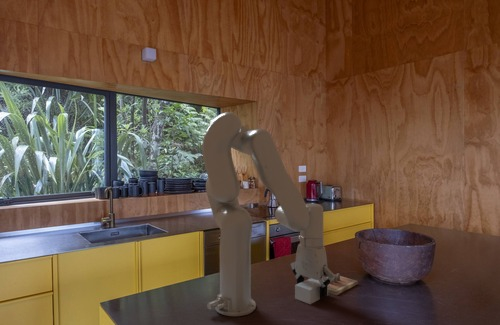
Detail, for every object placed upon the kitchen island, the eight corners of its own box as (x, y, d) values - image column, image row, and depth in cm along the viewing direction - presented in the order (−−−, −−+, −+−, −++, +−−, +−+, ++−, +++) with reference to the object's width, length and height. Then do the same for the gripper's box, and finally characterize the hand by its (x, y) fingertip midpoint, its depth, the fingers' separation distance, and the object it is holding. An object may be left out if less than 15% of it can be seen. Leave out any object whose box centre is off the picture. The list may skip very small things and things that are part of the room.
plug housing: (310, 304, 109) (310, 290, 109) (294, 298, 113) (295, 285, 113) (327, 295, 116) (327, 281, 116) (313, 290, 120) (313, 277, 120)
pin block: (336, 295, 116) (336, 284, 116) (311, 287, 123) (311, 276, 123) (357, 284, 126) (357, 274, 126) (333, 277, 133) (333, 267, 133)
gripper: (284, 238, 118) (284, 289, 118) (327, 248, 105) (327, 305, 106) (297, 235, 123) (297, 283, 124) (341, 244, 111) (340, 298, 111)
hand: (311, 293), depth 115 cm, fingers open, 8 cm apart
